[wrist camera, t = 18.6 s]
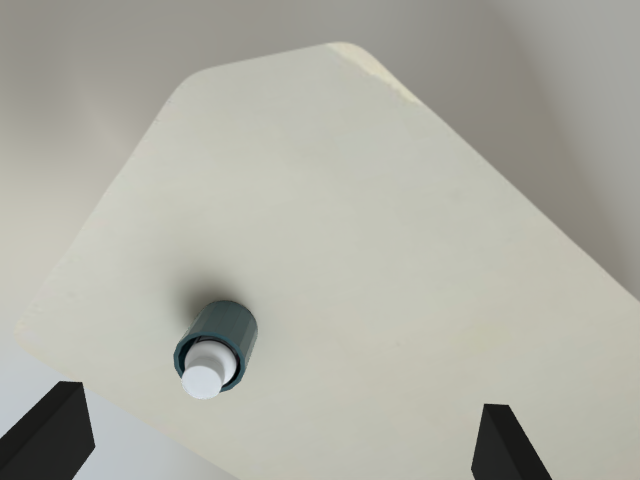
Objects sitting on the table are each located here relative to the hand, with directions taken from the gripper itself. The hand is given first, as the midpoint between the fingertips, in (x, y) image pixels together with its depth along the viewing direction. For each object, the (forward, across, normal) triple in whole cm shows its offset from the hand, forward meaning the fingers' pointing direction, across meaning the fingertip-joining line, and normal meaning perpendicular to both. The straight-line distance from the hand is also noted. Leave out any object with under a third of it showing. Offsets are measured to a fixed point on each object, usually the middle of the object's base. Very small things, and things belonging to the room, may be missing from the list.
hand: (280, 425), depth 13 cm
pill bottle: (+31, -11, -16) cm, 36 cm away
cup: (+31, -11, -16) cm, 36 cm away
